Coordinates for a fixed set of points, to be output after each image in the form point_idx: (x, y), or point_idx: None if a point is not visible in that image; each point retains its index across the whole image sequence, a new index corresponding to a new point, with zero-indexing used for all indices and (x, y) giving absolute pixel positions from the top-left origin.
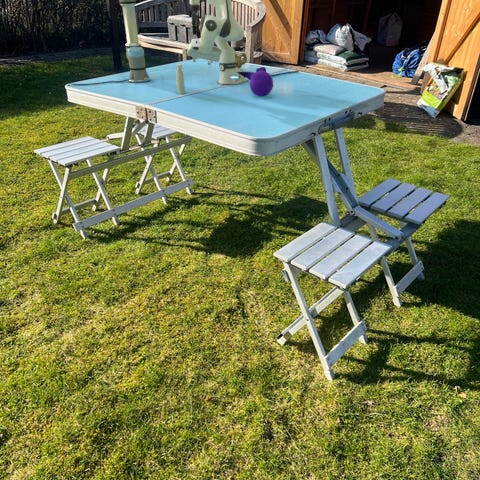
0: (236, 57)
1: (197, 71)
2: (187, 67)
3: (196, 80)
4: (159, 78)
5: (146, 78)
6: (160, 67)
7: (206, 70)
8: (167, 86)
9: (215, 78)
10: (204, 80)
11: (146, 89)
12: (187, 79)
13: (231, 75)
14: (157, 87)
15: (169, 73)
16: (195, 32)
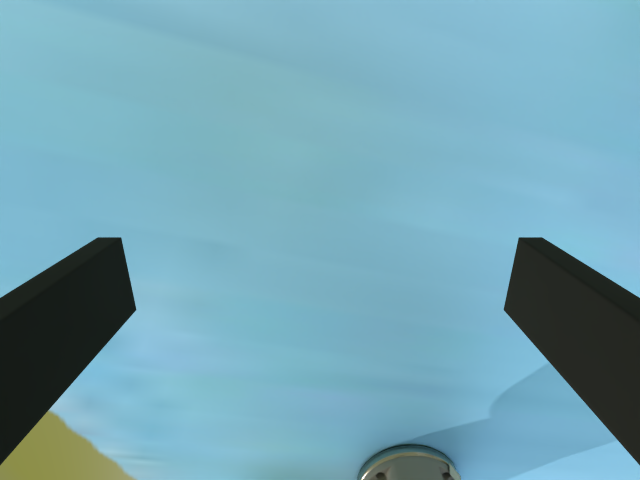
0: None
1: (235, 147)
2: (33, 184)
3: (564, 228)
4: (383, 399)
5: (453, 473)
6: None
7: (213, 62)
8: None
9: (582, 81)
10: (598, 179)
11: (616, 473)
12: (498, 272)
13: None
14: (607, 433)
15: (248, 334)
16: (96, 278)
